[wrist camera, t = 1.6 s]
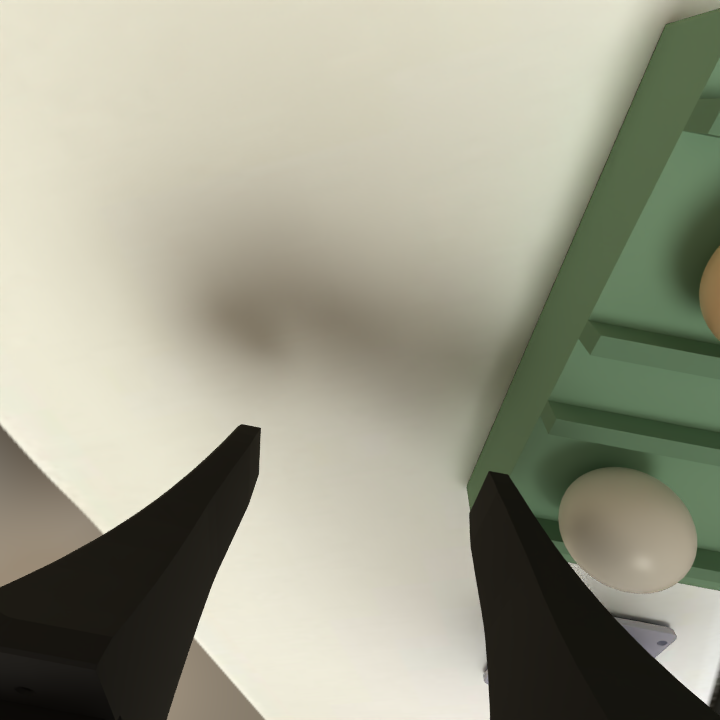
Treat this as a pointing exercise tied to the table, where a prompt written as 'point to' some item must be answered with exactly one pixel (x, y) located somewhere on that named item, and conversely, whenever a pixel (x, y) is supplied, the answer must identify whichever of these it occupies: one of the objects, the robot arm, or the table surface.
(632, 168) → the green egg tray
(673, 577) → the ball white
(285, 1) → the table surface
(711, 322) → the ball orange
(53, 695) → the robot arm
